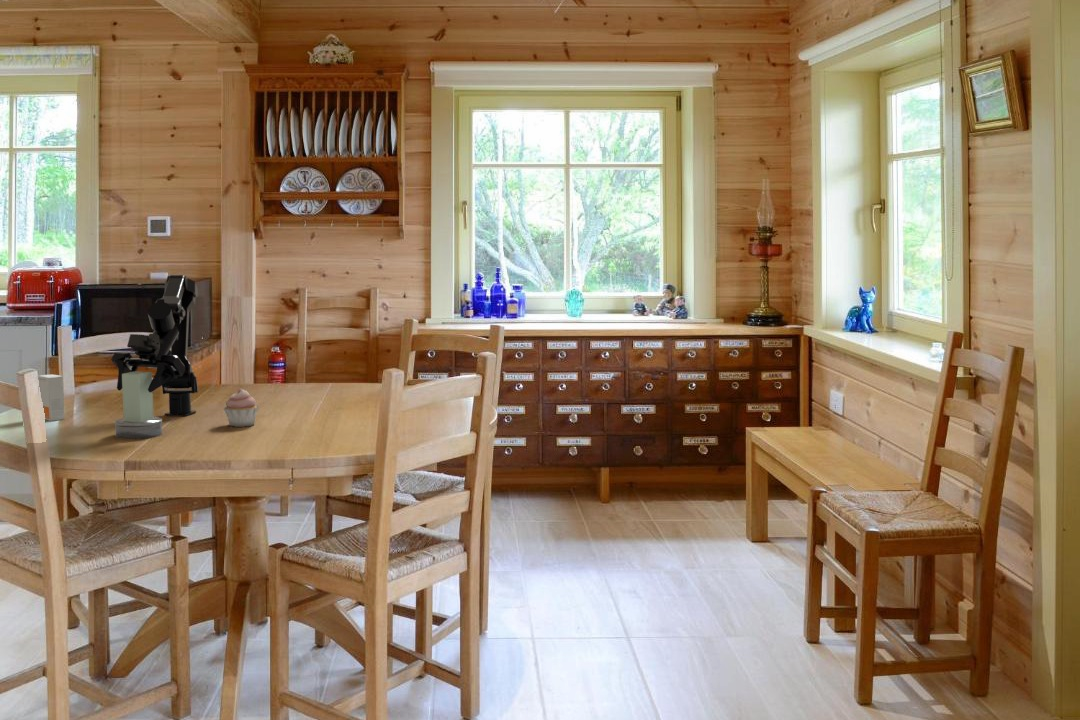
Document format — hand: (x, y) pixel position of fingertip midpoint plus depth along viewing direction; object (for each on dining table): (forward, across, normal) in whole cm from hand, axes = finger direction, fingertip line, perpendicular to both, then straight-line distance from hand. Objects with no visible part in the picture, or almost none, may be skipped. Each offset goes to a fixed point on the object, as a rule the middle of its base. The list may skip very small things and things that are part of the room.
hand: (133, 390), depth 252 cm
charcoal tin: (+7, 0, +9) cm, 12 cm away
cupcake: (-7, +16, +24) cm, 30 cm away
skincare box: (0, -37, +17) cm, 41 cm away
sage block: (+4, 0, +7) cm, 8 cm away
